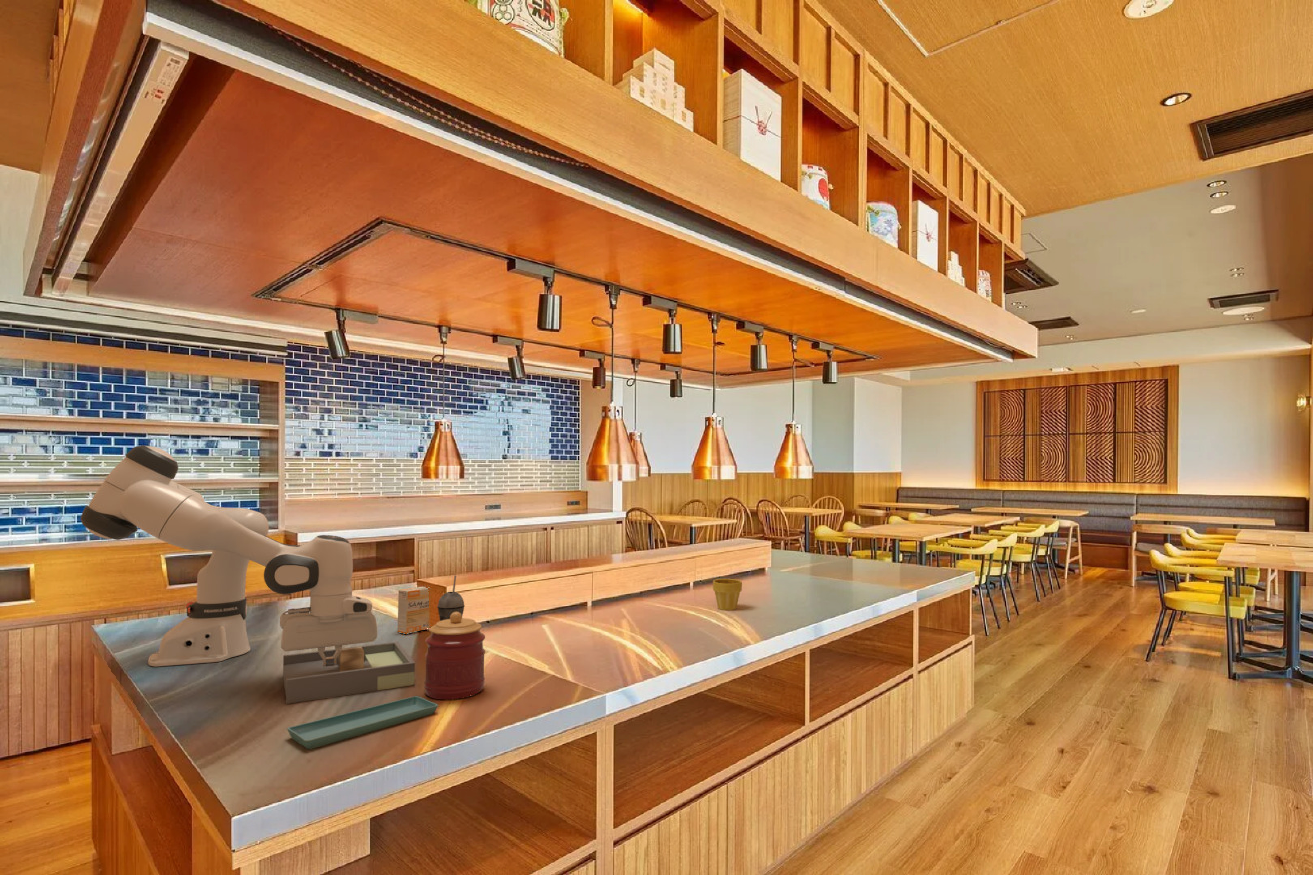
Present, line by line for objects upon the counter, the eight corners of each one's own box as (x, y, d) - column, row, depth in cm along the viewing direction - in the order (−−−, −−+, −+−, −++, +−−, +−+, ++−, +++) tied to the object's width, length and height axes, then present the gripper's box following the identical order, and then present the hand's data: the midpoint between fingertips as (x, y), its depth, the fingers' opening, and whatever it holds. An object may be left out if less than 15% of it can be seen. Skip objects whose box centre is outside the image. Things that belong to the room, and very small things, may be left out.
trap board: (286, 704, 146) (287, 680, 146) (282, 676, 164) (283, 655, 165) (414, 684, 159) (414, 662, 159) (397, 661, 178) (397, 641, 178)
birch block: (340, 671, 158) (340, 654, 158) (338, 666, 163) (338, 649, 163) (363, 668, 161) (364, 651, 161) (361, 663, 165) (361, 646, 165)
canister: (427, 704, 146) (428, 620, 147) (421, 686, 158) (423, 608, 158) (489, 696, 151) (490, 615, 152) (479, 679, 163) (480, 604, 164)
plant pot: (743, 611, 240) (743, 583, 241) (713, 611, 240) (713, 583, 241) (740, 605, 251) (740, 578, 251) (711, 605, 251) (711, 578, 251)
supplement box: (406, 635, 205) (406, 591, 205) (396, 633, 208) (397, 589, 208) (430, 630, 211) (430, 587, 212) (420, 628, 214) (421, 585, 215)
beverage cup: (431, 648, 190) (432, 575, 191) (455, 643, 195) (456, 572, 196) (445, 653, 185) (446, 578, 186) (469, 648, 191) (470, 575, 191)
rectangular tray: (416, 704, 147) (416, 693, 147) (439, 715, 141) (439, 703, 141) (285, 741, 127) (285, 727, 127) (305, 755, 121) (305, 740, 121)
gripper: (280, 612, 152) (278, 675, 152) (379, 603, 162) (377, 663, 162) (280, 607, 158) (278, 668, 157) (375, 599, 168) (374, 656, 167)
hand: (329, 665), depth 159 cm, fingers closed
